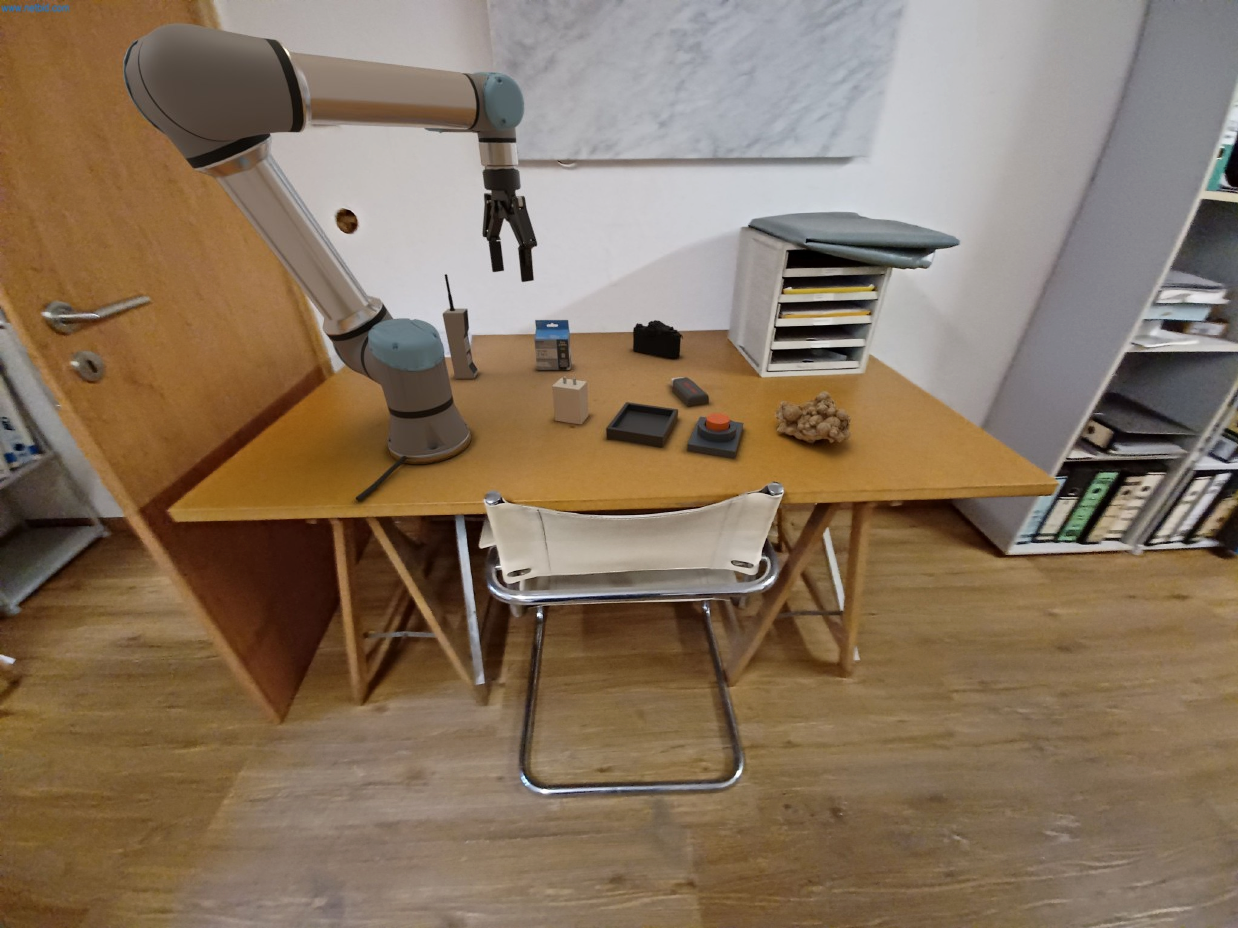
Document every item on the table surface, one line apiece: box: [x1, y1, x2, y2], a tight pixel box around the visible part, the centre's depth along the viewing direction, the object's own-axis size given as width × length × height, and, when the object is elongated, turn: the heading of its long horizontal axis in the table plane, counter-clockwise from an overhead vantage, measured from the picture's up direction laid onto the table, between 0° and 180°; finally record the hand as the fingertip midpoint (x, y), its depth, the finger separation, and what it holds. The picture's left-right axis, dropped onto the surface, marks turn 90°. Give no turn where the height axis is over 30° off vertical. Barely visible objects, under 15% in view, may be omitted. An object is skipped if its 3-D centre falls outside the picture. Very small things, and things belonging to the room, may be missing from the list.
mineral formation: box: [773, 390, 852, 444], centre depth 97 cm, size 8×13×15 cm
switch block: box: [686, 416, 745, 460], centre depth 98 cm, size 12×9×4 cm
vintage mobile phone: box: [442, 273, 479, 380], centre depth 121 cm, size 4×5×25 cm
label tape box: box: [534, 319, 572, 371], centre depth 128 cm, size 9×4×12 cm, turn 88°
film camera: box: [632, 319, 684, 360], centre depth 140 cm, size 15×10×9 cm, turn 58°
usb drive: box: [670, 376, 710, 408], centre depth 116 cm, size 5×12×3 cm, turn 18°
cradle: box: [605, 401, 679, 449], centre depth 102 cm, size 13×12×2 cm
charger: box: [551, 375, 590, 425], centre depth 105 cm, size 4×6×9 cm
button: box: [706, 412, 731, 431], centre depth 97 cm, size 4×4×2 cm
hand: (512, 276), depth 114 cm, fingers open, 13 cm apart
